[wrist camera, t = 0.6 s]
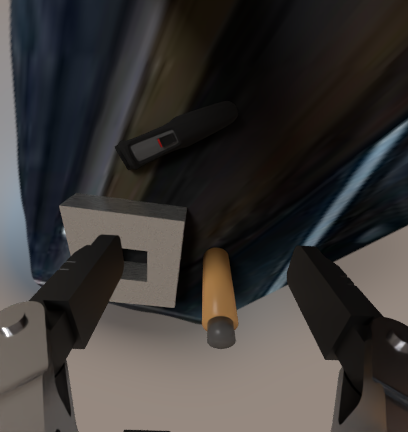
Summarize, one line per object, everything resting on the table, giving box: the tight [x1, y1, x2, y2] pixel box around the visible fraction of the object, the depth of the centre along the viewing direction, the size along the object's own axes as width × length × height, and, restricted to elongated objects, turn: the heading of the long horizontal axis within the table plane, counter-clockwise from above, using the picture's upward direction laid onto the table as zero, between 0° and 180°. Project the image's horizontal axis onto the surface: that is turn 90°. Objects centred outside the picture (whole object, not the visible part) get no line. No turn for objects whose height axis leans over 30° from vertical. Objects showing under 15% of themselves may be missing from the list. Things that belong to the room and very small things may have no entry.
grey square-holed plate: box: [59, 193, 187, 308], centre depth 32 cm, size 18×16×4 cm
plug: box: [202, 248, 238, 349], centre depth 29 cm, size 4×4×14 cm
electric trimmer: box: [115, 101, 238, 170], centre depth 24 cm, size 4×16×3 cm, turn 111°
